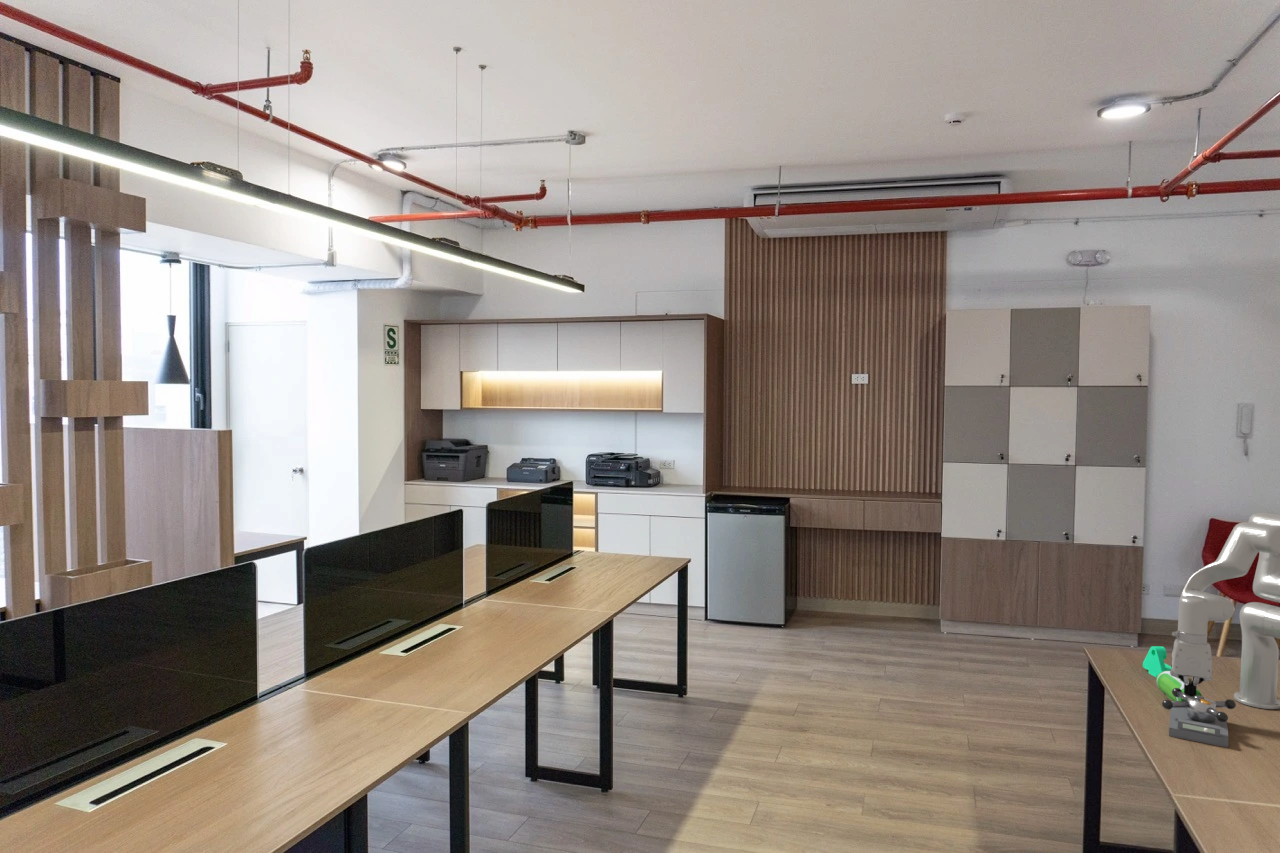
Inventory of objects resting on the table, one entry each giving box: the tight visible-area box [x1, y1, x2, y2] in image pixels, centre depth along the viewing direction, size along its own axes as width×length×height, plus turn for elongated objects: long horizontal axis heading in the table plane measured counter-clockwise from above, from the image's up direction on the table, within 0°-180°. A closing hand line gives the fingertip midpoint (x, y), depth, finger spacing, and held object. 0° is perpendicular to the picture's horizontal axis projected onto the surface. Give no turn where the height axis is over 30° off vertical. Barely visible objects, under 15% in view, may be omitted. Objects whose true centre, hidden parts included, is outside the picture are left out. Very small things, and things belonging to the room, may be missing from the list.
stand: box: [1168, 708, 1229, 748], centre depth 251 cm, size 22×14×5 cm, turn 147°
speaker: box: [1155, 671, 1203, 701], centre depth 273 cm, size 18×7×8 cm, turn 171°
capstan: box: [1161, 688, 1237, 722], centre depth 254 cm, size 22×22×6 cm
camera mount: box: [1142, 645, 1171, 678], centre depth 297 cm, size 12×8×10 cm, turn 179°
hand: (1189, 697), depth 261 cm, fingers closed
